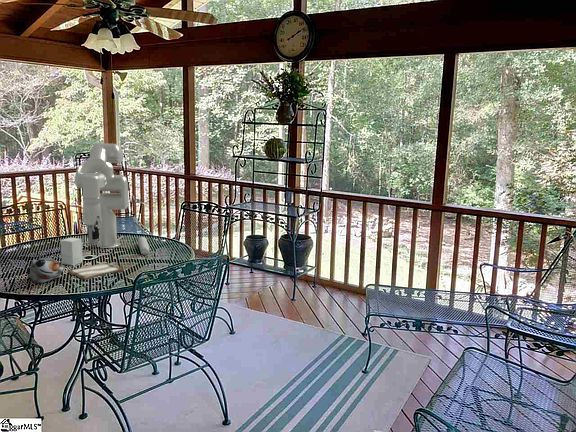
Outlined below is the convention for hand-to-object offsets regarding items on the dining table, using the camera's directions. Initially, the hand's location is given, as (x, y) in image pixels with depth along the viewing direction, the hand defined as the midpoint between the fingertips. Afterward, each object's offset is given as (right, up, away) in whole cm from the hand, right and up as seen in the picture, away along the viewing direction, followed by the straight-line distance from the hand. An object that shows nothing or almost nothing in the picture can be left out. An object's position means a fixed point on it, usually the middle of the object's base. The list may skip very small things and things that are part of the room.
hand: (93, 237), depth 235 cm
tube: (+11, -10, +47) cm, 49 cm away
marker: (0, -3, +1) cm, 3 cm away
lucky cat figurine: (-18, -19, -10) cm, 28 cm away
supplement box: (-18, -14, +17) cm, 28 cm away
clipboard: (0, -17, +4) cm, 17 cm away
